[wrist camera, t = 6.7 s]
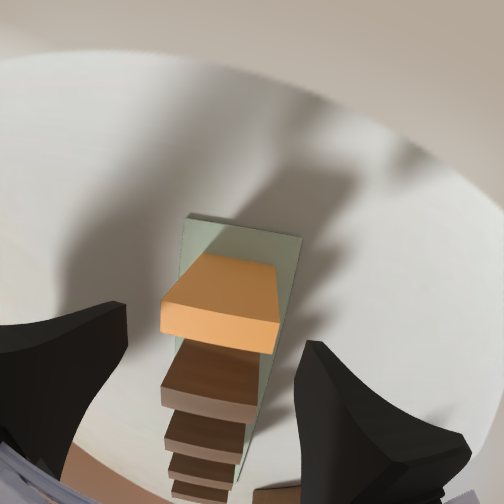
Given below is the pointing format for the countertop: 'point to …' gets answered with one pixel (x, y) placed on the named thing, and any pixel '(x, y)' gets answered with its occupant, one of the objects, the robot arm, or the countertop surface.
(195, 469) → the domino
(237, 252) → the mat
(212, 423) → the domino
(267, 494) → the wooden block
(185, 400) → the domino
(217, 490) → the domino
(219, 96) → the countertop surface
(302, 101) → the countertop surface
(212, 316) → the orange domino
